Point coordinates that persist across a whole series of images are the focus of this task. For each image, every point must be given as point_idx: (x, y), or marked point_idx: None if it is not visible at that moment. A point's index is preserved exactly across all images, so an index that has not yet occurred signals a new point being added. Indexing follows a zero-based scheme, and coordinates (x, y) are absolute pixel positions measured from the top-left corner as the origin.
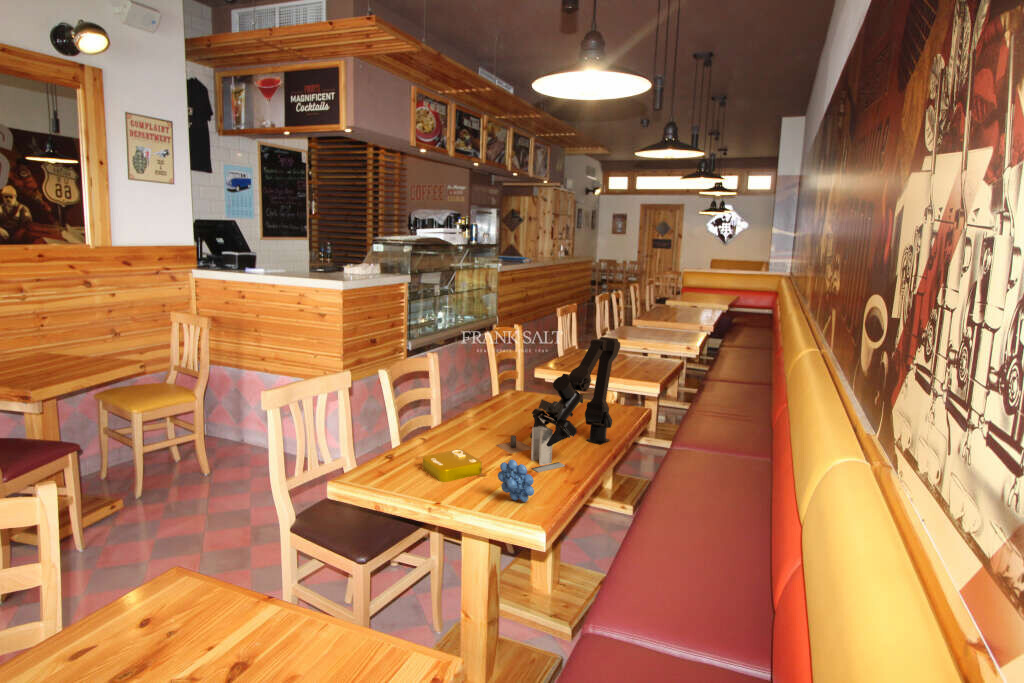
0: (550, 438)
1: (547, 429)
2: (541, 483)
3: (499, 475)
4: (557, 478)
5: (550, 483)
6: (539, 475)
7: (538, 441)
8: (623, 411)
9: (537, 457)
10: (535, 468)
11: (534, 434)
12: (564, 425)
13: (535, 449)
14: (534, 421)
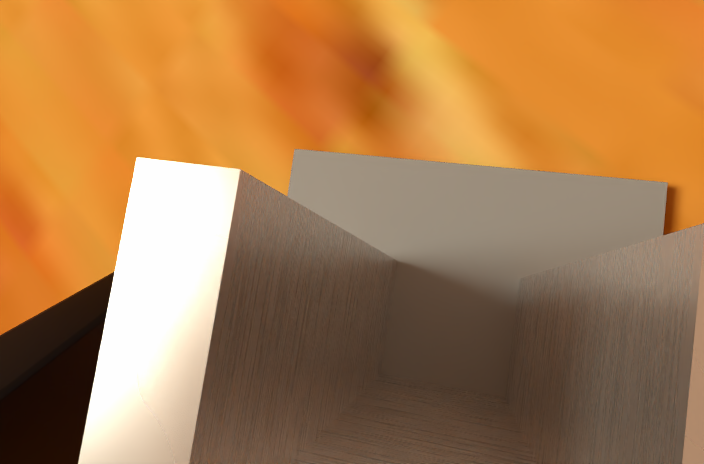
0: (57, 331)
1: None
2: (114, 19)
3: None
4: (97, 202)
5: (69, 80)
6: (241, 118)
7: (552, 392)
8: None
9: (517, 347)
10: (366, 179)
11: (610, 276)
12: None
13: (537, 314)
14: None
